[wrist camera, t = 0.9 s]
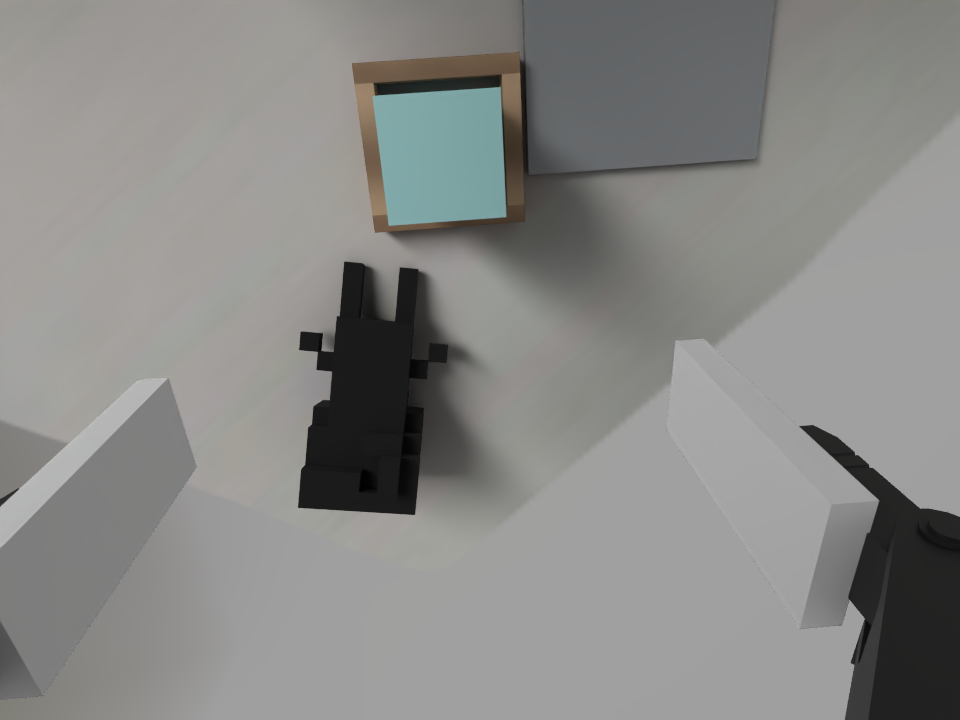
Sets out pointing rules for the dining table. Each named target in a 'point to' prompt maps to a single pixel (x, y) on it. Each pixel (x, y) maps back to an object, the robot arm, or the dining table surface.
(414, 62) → the wooden square frame
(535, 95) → the pad
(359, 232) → the dining table surface
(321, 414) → the toy
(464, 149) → the block
